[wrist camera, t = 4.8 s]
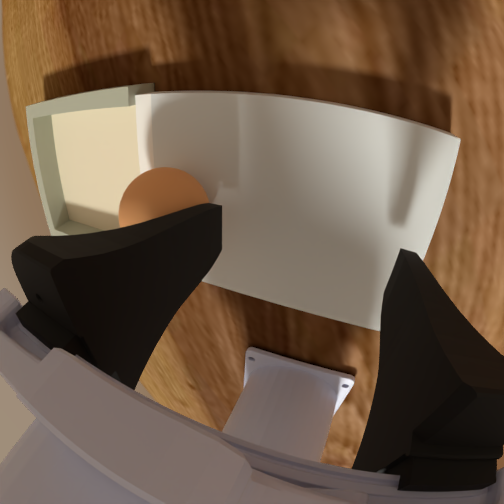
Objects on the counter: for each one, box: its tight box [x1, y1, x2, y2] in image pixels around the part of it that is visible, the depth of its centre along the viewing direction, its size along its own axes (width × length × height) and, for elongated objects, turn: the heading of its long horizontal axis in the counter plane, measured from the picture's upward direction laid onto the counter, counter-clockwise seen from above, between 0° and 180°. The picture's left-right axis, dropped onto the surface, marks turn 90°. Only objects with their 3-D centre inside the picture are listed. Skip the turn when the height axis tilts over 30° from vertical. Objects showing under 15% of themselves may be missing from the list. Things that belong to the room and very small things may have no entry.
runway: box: [135, 91, 461, 331], centre depth 13 cm, size 10×14×2 cm
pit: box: [26, 83, 154, 236], centre depth 17 cm, size 11×11×2 cm
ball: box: [119, 167, 209, 228], centre depth 12 cm, size 4×4×4 cm
